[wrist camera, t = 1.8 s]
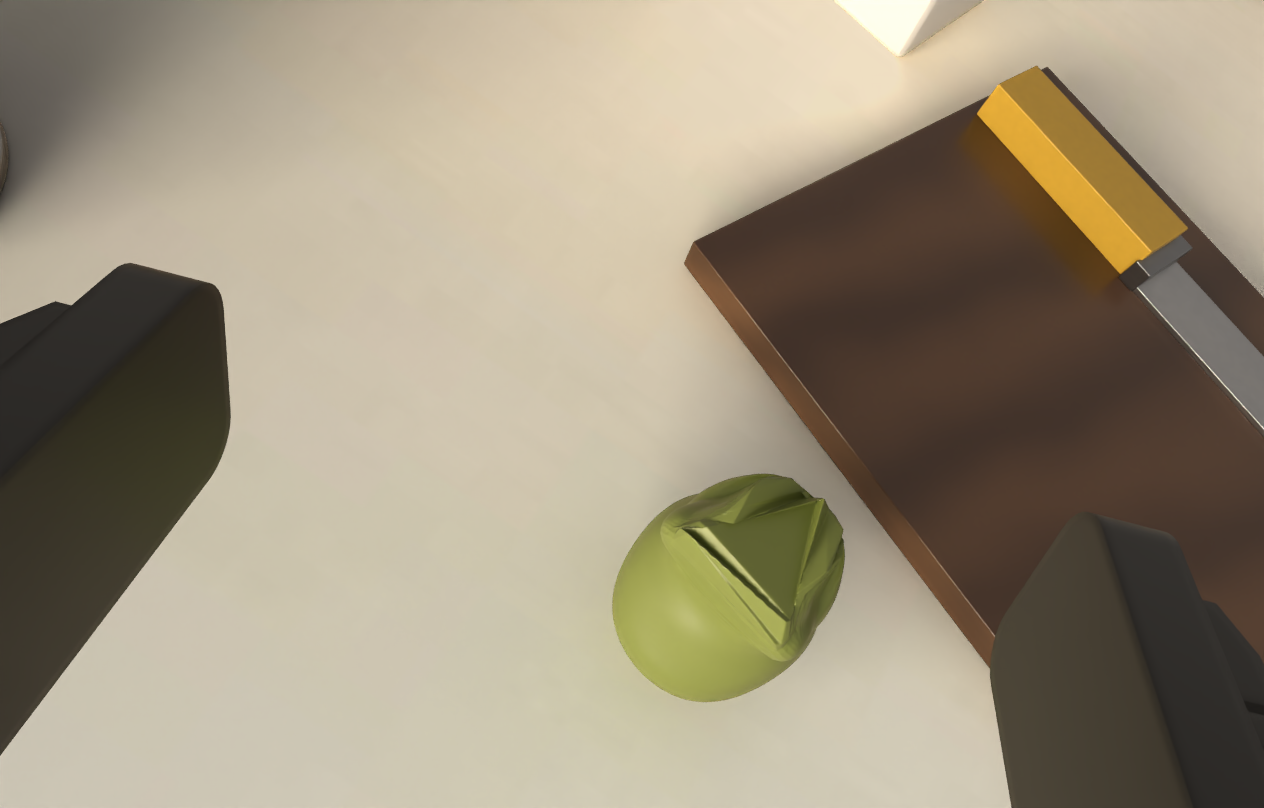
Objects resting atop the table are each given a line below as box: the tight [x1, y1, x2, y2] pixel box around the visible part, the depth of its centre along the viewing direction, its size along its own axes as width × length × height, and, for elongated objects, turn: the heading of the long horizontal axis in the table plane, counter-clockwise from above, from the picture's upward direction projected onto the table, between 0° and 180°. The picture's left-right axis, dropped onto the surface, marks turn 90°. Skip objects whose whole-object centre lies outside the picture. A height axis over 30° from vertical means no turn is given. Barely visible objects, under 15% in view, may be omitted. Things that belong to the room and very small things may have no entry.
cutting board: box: [684, 67, 1264, 668], centre depth 37 cm, size 24×20×2 cm
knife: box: [977, 66, 1264, 437], centre depth 38 cm, size 22×3×2 cm, turn 35°
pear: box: [612, 474, 845, 702], centre depth 27 cm, size 6×5×10 cm
